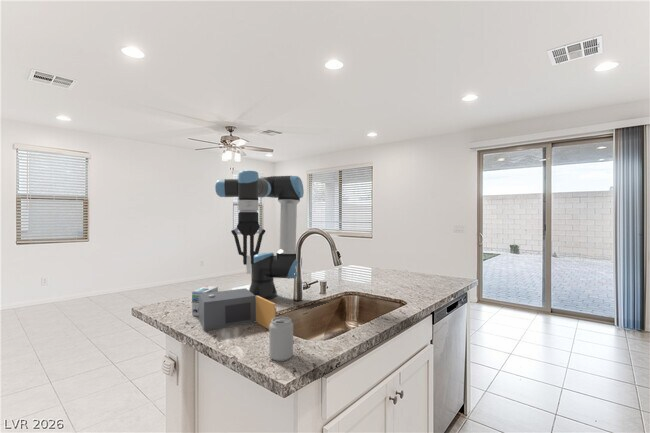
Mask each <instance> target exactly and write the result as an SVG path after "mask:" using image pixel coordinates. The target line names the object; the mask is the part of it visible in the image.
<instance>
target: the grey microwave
mask: <svg viewBox="0 0 650 433" xmlns="http://www.w3.org/2000/svg"><path fill="white" fill-rule="evenodd" d="M198 321H199V323H200V325H201V327H202V329H203V330H202V331H203V332H208V331H213V330H218V329H223V328H224V329H225V328H230V327H235V326H241V325H246V324H252V323H256V321H255V295H254V294H252V293H251V292H250V291H249V289H247V288H238V289H228V290H220V291H218V292H211V293H202V294H199V316H198Z"/></svg>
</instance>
